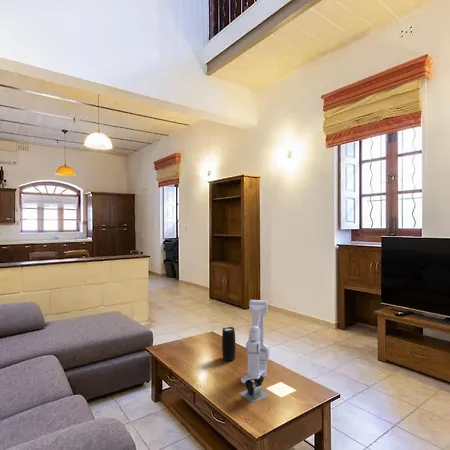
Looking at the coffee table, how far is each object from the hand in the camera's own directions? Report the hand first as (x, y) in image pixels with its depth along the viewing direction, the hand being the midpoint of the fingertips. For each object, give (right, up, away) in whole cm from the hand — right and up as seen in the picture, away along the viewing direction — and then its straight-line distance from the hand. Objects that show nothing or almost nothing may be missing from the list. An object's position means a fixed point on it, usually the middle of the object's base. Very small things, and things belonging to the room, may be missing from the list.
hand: (253, 392), depth 157 cm
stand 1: (0, -2, 0) cm, 2 cm away
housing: (0, -1, 0) cm, 1 cm away
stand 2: (+14, -2, +4) cm, 15 cm away
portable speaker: (-12, -3, +46) cm, 47 cm away
